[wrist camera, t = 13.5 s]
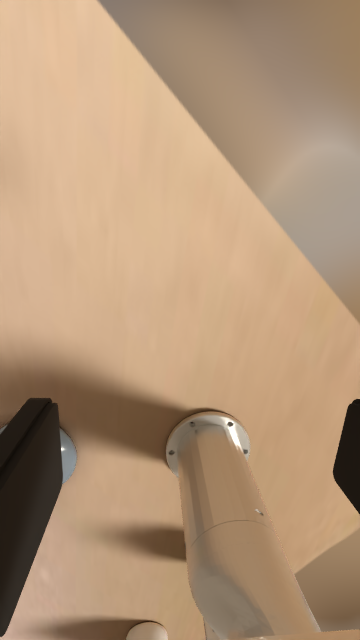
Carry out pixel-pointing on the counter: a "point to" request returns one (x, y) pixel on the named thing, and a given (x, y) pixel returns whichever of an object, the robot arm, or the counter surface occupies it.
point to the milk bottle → (147, 632)
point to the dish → (65, 454)
